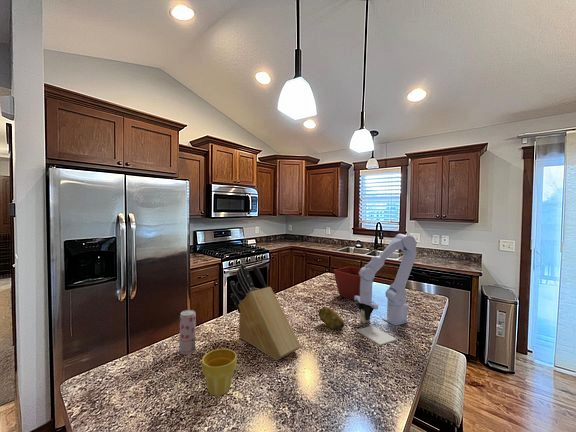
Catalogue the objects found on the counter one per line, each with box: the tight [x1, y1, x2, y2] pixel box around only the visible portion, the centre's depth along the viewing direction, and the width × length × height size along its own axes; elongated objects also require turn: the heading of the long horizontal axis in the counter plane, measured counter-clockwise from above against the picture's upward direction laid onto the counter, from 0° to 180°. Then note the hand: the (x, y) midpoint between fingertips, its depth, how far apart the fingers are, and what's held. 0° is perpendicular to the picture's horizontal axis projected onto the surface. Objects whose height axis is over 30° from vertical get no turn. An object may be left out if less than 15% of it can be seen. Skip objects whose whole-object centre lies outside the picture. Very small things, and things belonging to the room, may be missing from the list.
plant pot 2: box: [333, 266, 375, 302], centre depth 166 cm, size 19×19×17 cm
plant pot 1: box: [201, 348, 238, 397], centre depth 80 cm, size 10×10×10 cm
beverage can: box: [179, 309, 197, 356], centre depth 100 cm, size 6×6×15 cm
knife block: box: [229, 264, 302, 361], centre depth 108 cm, size 11×35×31 cm, turn 45°
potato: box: [318, 306, 345, 330], centre depth 124 cm, size 8×13×8 cm, turn 28°
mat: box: [356, 325, 398, 346], centre depth 116 cm, size 10×14×1 cm
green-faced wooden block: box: [359, 309, 371, 324], centre depth 130 cm, size 4×2×6 cm, turn 117°
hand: (365, 318), depth 130 cm, fingers closed on green-faced wooden block, 2 cm apart
